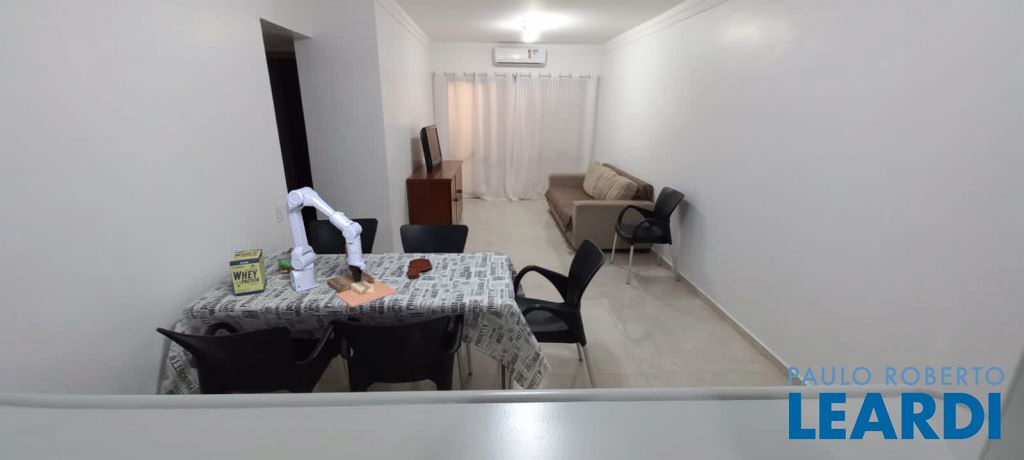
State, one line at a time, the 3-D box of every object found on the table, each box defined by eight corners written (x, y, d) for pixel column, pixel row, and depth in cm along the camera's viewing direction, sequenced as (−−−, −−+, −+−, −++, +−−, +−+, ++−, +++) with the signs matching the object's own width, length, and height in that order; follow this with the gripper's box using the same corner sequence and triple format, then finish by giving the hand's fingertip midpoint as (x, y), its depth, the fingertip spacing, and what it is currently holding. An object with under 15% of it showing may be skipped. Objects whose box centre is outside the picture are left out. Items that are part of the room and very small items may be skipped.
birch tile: (360, 295, 173) (360, 290, 172) (351, 289, 179) (350, 284, 178) (373, 291, 177) (373, 286, 176) (364, 285, 183) (363, 280, 182)
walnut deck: (339, 293, 176) (338, 287, 175) (327, 284, 185) (326, 279, 184) (374, 283, 187) (374, 277, 186) (361, 275, 196) (361, 270, 195)
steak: (434, 266, 209) (434, 258, 208) (424, 281, 189) (423, 272, 188) (412, 265, 209) (411, 257, 208) (399, 280, 190) (398, 271, 189)
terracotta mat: (352, 306, 163) (351, 306, 163) (335, 295, 174) (335, 294, 174) (397, 292, 177) (397, 291, 177) (379, 282, 188) (379, 281, 188)
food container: (291, 275, 196) (288, 255, 194) (279, 275, 196) (275, 255, 194) (304, 266, 208) (302, 247, 206) (292, 266, 208) (290, 247, 206)
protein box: (235, 297, 172) (228, 262, 168) (240, 284, 186) (234, 251, 182) (264, 292, 177) (258, 258, 172) (267, 280, 190) (262, 248, 186)
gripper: (371, 253, 174) (374, 282, 178) (355, 245, 184) (358, 274, 188) (355, 256, 169) (358, 287, 173) (340, 249, 179) (343, 278, 183)
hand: (357, 280), depth 180 cm, fingers closed
